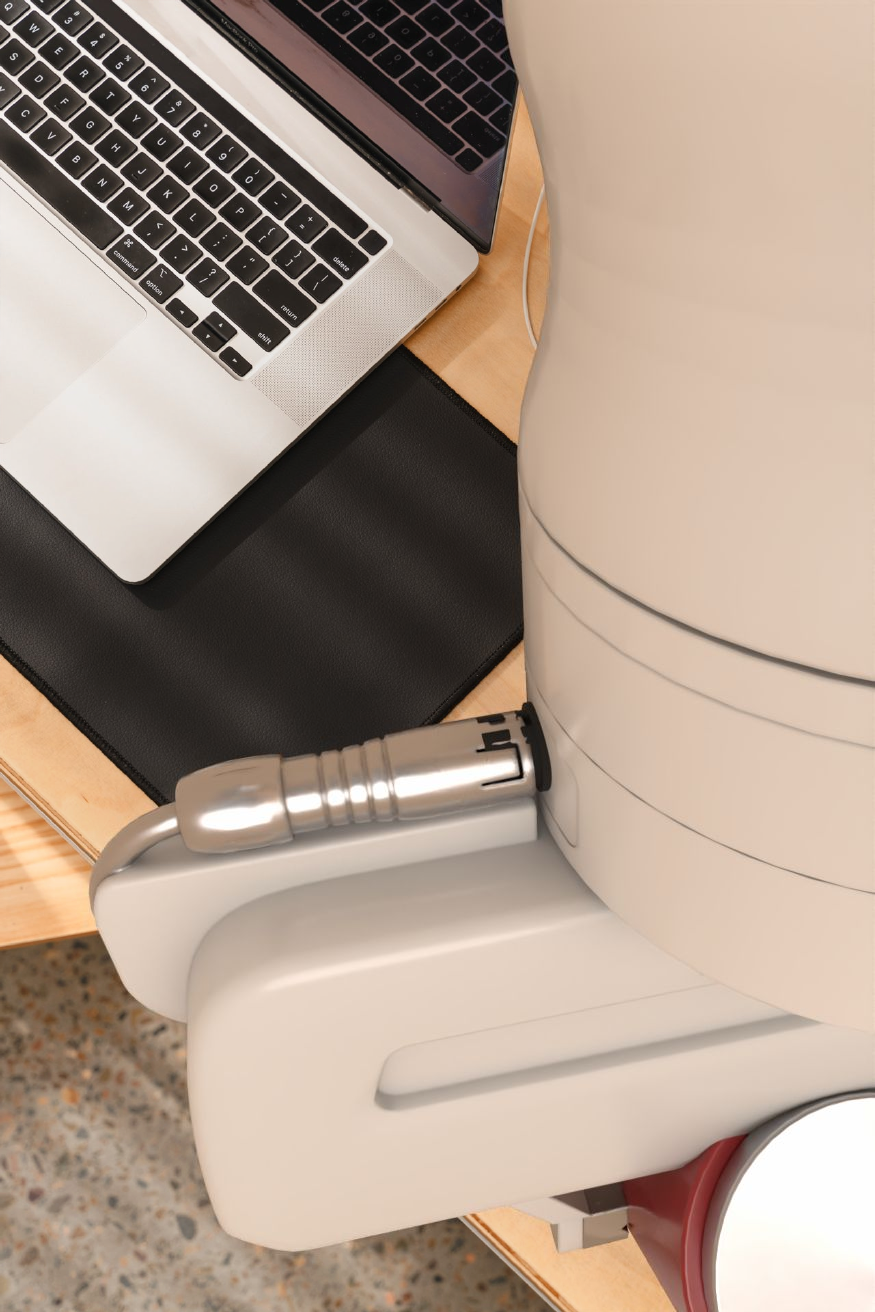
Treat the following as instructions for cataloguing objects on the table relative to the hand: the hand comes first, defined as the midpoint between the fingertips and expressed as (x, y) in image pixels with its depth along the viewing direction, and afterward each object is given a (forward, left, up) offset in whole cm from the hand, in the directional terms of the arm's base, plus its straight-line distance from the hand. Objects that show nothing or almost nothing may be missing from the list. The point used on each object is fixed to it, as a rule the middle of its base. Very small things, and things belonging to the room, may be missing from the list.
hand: (750, 1172), depth 21 cm
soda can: (0, -1, -7) cm, 7 cm away
